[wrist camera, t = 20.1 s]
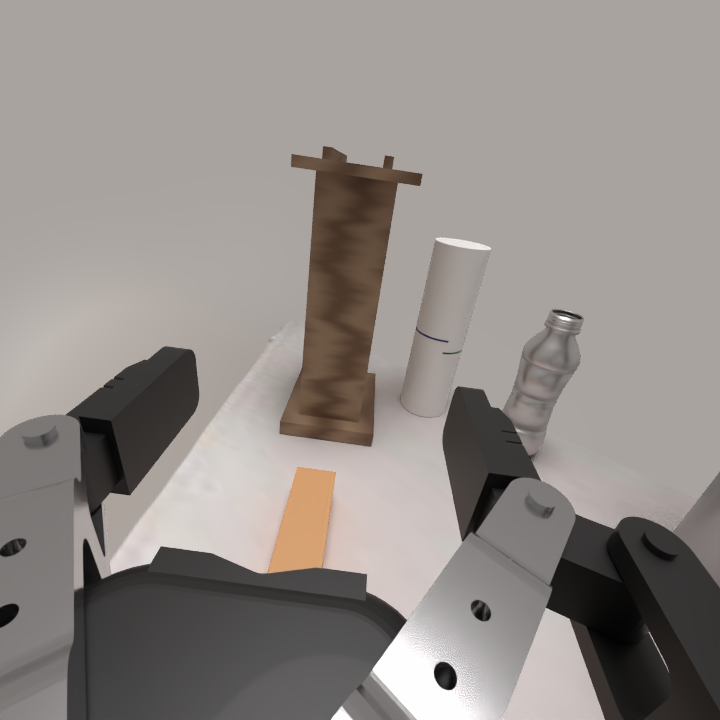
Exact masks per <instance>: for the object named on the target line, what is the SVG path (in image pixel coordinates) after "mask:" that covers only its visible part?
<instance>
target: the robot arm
mask: <svg viewBox="0 0 720 720" xmlns="http://www.w3.org/2000/svg"><path fill="white" fill-rule="evenodd" d="M198 401H199V387H198V377H197V369H196V358H195V354H194V352H193V351H192V350H189V349H182V348H174V347H167V346H166V347H163V348H162V349H160V350H159V351H158V352H157V353H155V354H154V355H153V356H152V357H151V358H150V359H148V360H143V361H141V362H138V363H136V364H134V365H131V366H129V367H127V368H125V369H124V370H123V371H122V372H120V373H119V374H118V375H116V376H115V377H114V379H112V380H110V381H109V382H108V383H106V384H105V385H104V387H103V388H100V389H98V390H97V391H96V392H94V393H93V394H92V395H91V396H89V397H88V398H87V399H85V400H84V401H83V402H82V403H81V404H79V405H78V406H77V407H75V408H74V409H73V410H71V411H70V412H69V413H67V414H66V415H48V416H42V417H38V418H34V419H31V420H28V421H25V422H23V423H21V424H18V425H16V426H14V427H13V428H11V429H9V430H8V431H7V432H5V433H4V434H3V435H2V436H1V437H0V720H502V719H503V717H504V714H505V712H506V709H507V706H508V704H509V701H510V699H511V696H512V694H513V691H514V688H515V686H516V683H517V681H518V678H519V675H520V673H521V670H522V668H523V665H524V662H525V660H526V657H527V655H528V652H529V649H530V647H531V644H532V642H533V639H534V636H535V634H536V631H537V629H538V626H539V624H540V621H541V618H542V616H543V613H544V611H545V608H548V609H550V610H552V611H554V612H556V613H559V614H561V615H563V616H565V617H567V618H569V619H570V621H571V624H572V627H573V630H574V633H575V635H576V638H577V641H578V644H579V647H580V650H581V652H582V655H583V658H584V661H585V664H586V667H587V669H588V672H589V675H590V678H591V681H592V684H593V686H594V689H595V692H596V695H597V698H598V701H599V703H600V706H601V709H602V712H603V715H604V718H605V720H720V472H719V473H718V475H717V476H716V477H715V479H714V480H713V481H712V483H711V484H710V485H709V486H708V488H707V489H706V490H705V492H704V493H703V494H702V496H701V497H700V498H699V499H698V501H697V502H696V503H695V505H694V506H693V507H692V508H691V510H690V511H689V512H688V514H687V515H686V516H685V517H684V519H683V520H682V521H681V523H680V524H679V525H678V526H677V528H676V529H675V530H674V532H673V533H672V532H671V531H669V530H668V529H666V528H665V527H663V526H661V525H659V524H657V523H655V522H652V521H650V520H647V519H644V518H639V517H627V518H624V519H622V520H621V521H620V523H619V524H618V525H617V527H616V528H615V529H612V528H610V527H607V526H604V525H602V524H599V523H596V522H594V521H591V520H589V519H586V518H583V517H581V516H579V515H576V514H575V511H574V509H573V507H572V505H571V503H570V502H569V500H568V499H567V498H566V497H565V496H564V495H563V494H562V493H561V492H559V491H558V490H557V489H555V488H554V487H552V486H551V485H549V484H547V483H545V482H542V481H541V480H540V478H539V476H538V474H537V472H536V469H535V467H534V465H533V463H532V461H531V459H530V457H529V455H528V453H527V451H526V449H525V447H524V446H523V445H522V441H521V439H520V437H519V435H517V431H516V429H515V427H514V425H513V423H512V421H511V419H510V418H509V417H507V416H506V415H505V414H504V413H503V412H502V411H501V410H500V409H499V408H493V407H491V406H490V404H489V401H488V399H487V397H486V395H485V392H484V391H483V390H481V389H474V388H466V387H457V388H456V389H455V392H454V395H453V398H452V402H451V405H450V409H449V412H448V416H447V419H446V423H445V426H444V431H443V450H444V455H445V460H446V465H447V470H448V475H449V480H450V485H451V489H452V494H453V499H454V504H455V509H456V514H457V519H458V524H459V529H460V534H461V539H462V542H463V543H462V544H461V546H460V547H459V549H458V550H457V551H456V553H455V554H454V556H453V557H452V558H451V560H450V561H449V563H448V564H447V565H446V567H445V568H444V570H443V571H442V572H441V574H440V575H439V577H438V578H437V580H436V581H435V582H434V584H433V585H432V587H431V588H430V589H429V591H428V592H427V594H426V595H425V596H424V598H423V599H422V601H421V602H420V604H419V605H418V606H417V608H416V609H415V611H414V612H413V613H412V615H411V616H410V618H409V619H408V620H406V619H405V618H404V617H403V616H402V615H401V614H400V613H399V612H398V611H397V610H396V609H394V608H393V607H392V606H390V605H389V604H388V603H386V602H385V601H383V600H381V599H380V598H378V597H376V596H374V595H372V594H370V593H368V592H366V583H367V574H361V573H354V572H346V571H339V570H331V569H324V568H317V567H316V568H308V569H300V570H291V571H283V572H275V573H266V574H260V573H256V572H253V571H251V570H249V569H246V568H244V567H242V566H239V565H237V564H235V563H233V562H230V561H228V560H226V559H223V558H221V557H219V556H217V555H214V554H212V553H205V552H198V551H191V550H183V549H176V548H168V547H160V549H159V551H158V552H157V554H156V556H155V557H154V559H153V561H152V563H151V564H147V565H142V566H137V567H133V568H129V569H126V570H123V571H120V572H117V573H115V574H112V575H111V570H110V559H109V548H108V536H107V524H106V512H105V506H104V503H103V500H104V499H105V498H106V497H107V496H108V495H109V493H117V494H124V495H131V493H132V492H133V491H134V489H135V488H136V487H137V485H138V484H139V483H140V482H141V480H142V479H143V478H144V477H145V475H146V474H147V473H148V471H149V470H150V469H151V468H152V466H153V465H154V464H155V462H156V461H157V460H158V459H159V457H160V456H161V455H162V453H163V452H164V451H165V450H166V448H167V447H168V446H169V444H170V443H171V442H172V441H173V439H174V438H175V437H176V435H177V434H178V433H179V432H180V430H181V429H182V428H183V427H184V425H185V424H186V423H187V421H188V420H189V419H190V418H191V416H192V415H193V414H194V412H195V410H196V408H197V405H198ZM649 631H650V633H651V635H652V637H653V639H654V641H655V643H656V645H657V647H658V649H659V651H660V653H661V654H662V656H663V658H664V660H665V662H666V665H667V667H668V670H669V672H668V670H667V668H666V666H665V664H664V662H663V660H662V658H661V656H660V654H659V652H658V650H657V648H656V646H655V644H654V642H653V640H652V638H651V637H650V635H649V633H648V632H649ZM669 673H670V674H669Z"/></svg>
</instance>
